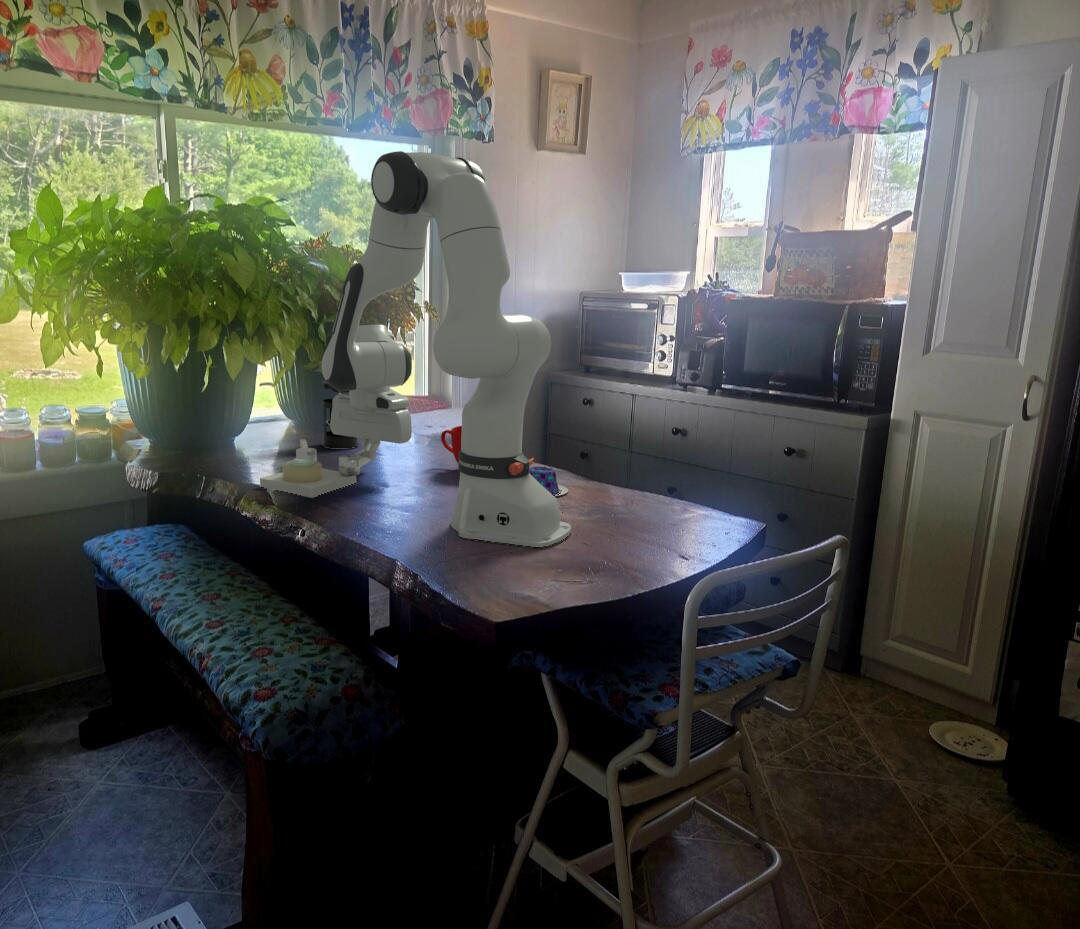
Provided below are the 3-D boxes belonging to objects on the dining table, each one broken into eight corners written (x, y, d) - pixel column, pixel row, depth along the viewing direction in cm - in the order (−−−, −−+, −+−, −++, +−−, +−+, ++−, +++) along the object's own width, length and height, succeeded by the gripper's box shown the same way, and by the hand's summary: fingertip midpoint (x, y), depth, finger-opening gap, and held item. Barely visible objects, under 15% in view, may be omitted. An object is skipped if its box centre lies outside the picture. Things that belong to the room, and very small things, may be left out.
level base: (356, 483, 176) (356, 455, 175) (312, 497, 164) (311, 467, 162) (306, 474, 182) (305, 446, 181) (260, 487, 170) (259, 458, 168)
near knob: (355, 476, 173) (354, 460, 172) (335, 474, 173) (335, 458, 173) (380, 461, 187) (380, 446, 186) (362, 460, 188) (362, 445, 187)
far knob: (317, 467, 179) (317, 451, 178) (297, 468, 178) (296, 452, 177) (312, 453, 192) (312, 438, 192) (293, 453, 191) (293, 438, 190)
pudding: (536, 502, 169) (538, 478, 167) (502, 489, 178) (503, 466, 176) (579, 494, 176) (580, 471, 175) (544, 482, 185) (545, 460, 184)
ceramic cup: (456, 460, 202) (457, 420, 199) (515, 470, 194) (516, 429, 192) (425, 470, 190) (426, 428, 188) (486, 481, 183) (487, 438, 181)
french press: (329, 451, 205) (327, 360, 200) (313, 444, 212) (311, 356, 207) (371, 446, 212) (370, 359, 207) (354, 440, 219) (353, 355, 214)
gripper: (323, 394, 181) (324, 454, 184) (398, 403, 172) (398, 466, 175) (342, 391, 186) (343, 450, 189) (415, 399, 178) (415, 461, 181)
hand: (370, 458), depth 182 cm, fingers closed
